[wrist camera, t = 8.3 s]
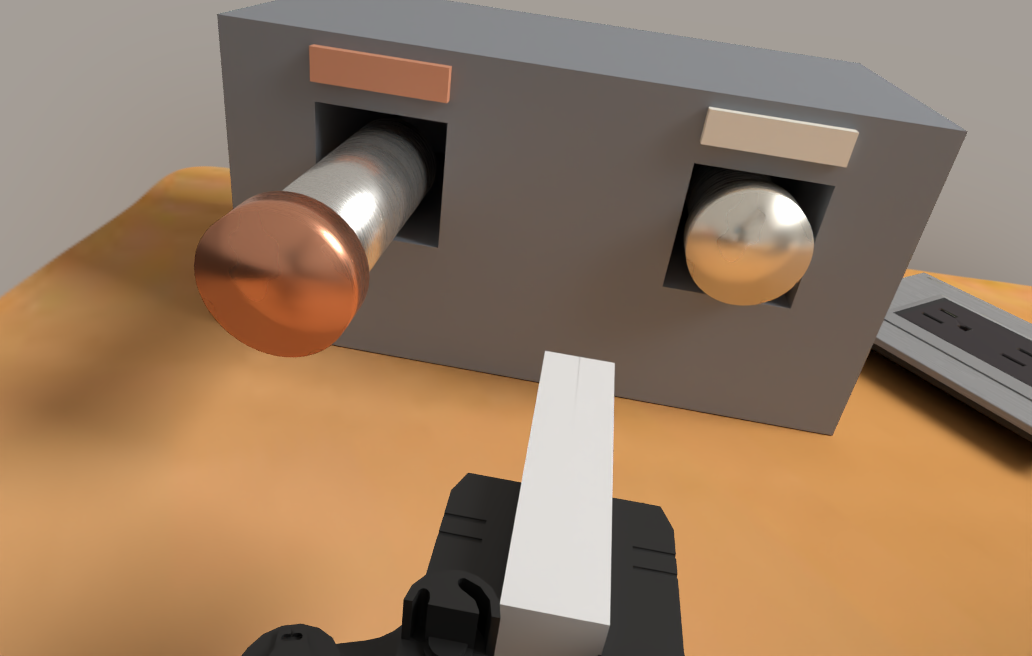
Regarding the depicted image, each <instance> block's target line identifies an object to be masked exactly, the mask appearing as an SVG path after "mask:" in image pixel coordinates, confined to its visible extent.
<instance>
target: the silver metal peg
mask: <svg viewBox="0 0 1032 656" xmlns="http://www.w3.org/2000/svg"><path fill="white" fill-rule="evenodd" d="M685 199H686V204H687V209H688V214H689V216H688V219H687V221H686V224H685V229H684V238H683V241H684V249H685V255H686V261H687V266H688V270H689V272H690V274H691V277H692V278H693V280H694V282H695V283H696V284H697V285H698V287H699V288H700V289H701V290H702V291H704V292H705V293H706V294H707V295H709V296H710V297H712V298H714V299H716V300H718V301H721V302H724V303H727V304H732V305H756V304H761V303H765V302H768V301H771V300H773V299H775V298H777V297H779V296H781V295H783V294H784V293H786V292H787V291H789V290H790V289H791V288H792V287H793V286H794V285H795V284H796V283H798V281H799V280H800V279H801V278H802V276H803V275H804V274H805V272H806V270H807V269H808V266H809V264H810V262H811V259H812V255H813V249H814V238H813V232H812V229H811V226H810V223H809V222H808V220H807V218H806V216H805V214H804V213H803V211H802V209H801V208H800V206H799V204H798V203H797V201H796V200H795V199H794V197H793V196H792V195H791V194H790V193H789V192H788V191H786V190H785V189H784V188H782V187H780V186H778V185H777V184H774V183H773V181H772V179H771V178H770V176H769V175H765V174H758V173H752V172H746V171H740V170H734V169H728V168H721V167H715V166H709V165H703V164H697V163H694V166H693V170H692V174H691V178H690V182H689V185H688V189H687V193H686V197H685Z"/></svg>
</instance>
